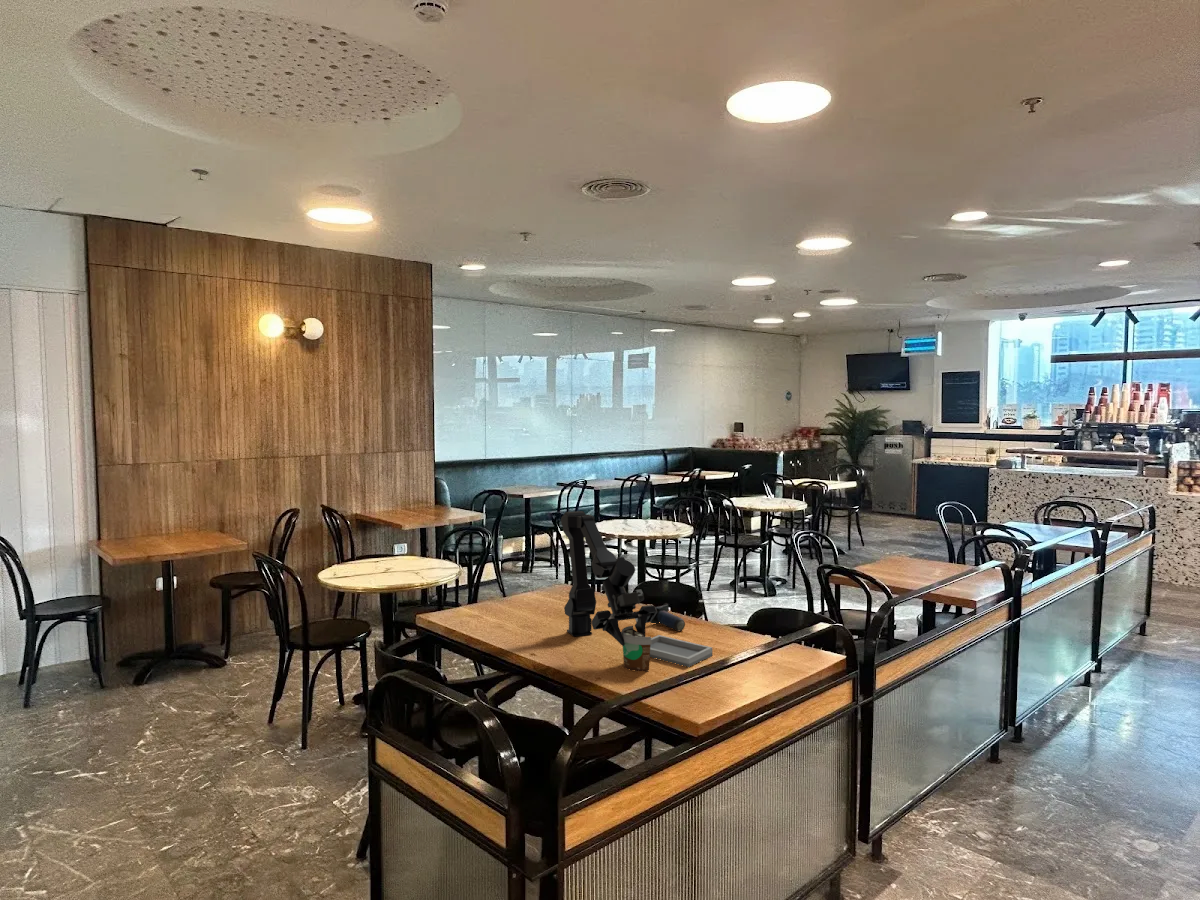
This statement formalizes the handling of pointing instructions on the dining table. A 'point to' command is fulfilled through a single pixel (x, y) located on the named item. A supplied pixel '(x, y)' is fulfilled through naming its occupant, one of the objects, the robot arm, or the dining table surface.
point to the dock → (678, 651)
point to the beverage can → (668, 618)
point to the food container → (636, 649)
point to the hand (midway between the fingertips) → (634, 643)
